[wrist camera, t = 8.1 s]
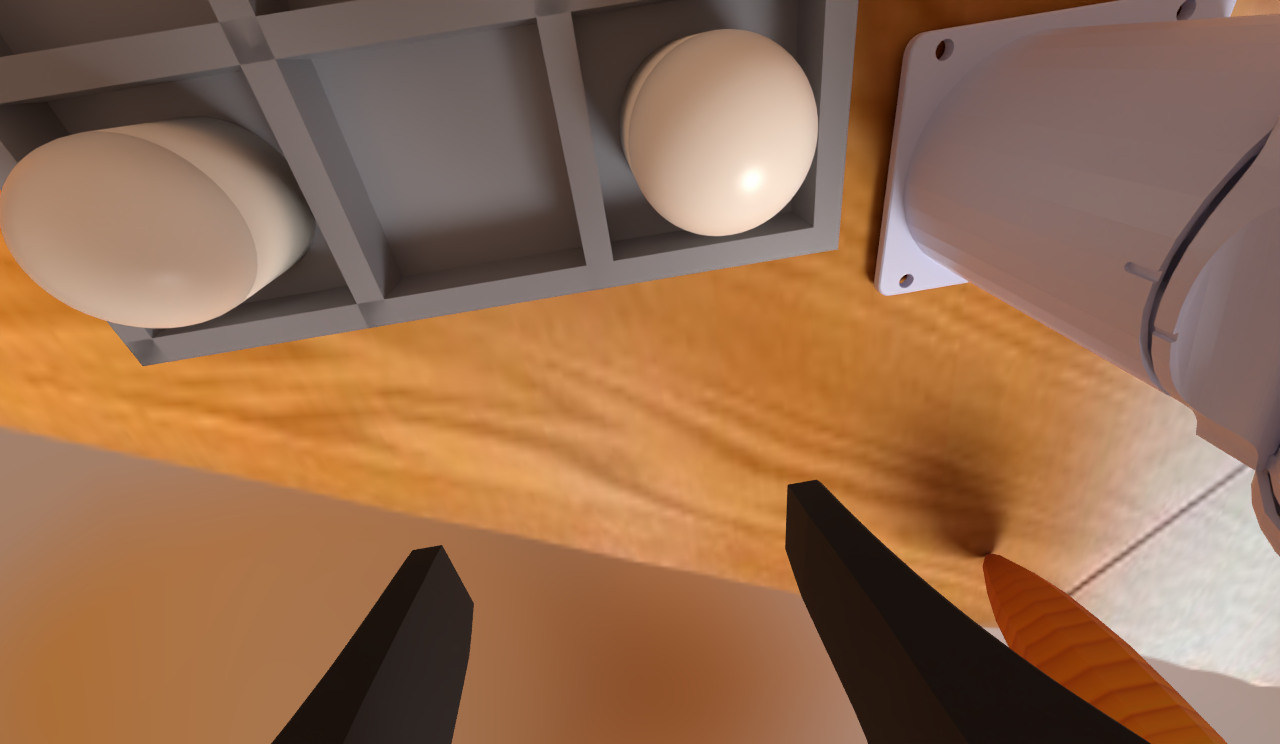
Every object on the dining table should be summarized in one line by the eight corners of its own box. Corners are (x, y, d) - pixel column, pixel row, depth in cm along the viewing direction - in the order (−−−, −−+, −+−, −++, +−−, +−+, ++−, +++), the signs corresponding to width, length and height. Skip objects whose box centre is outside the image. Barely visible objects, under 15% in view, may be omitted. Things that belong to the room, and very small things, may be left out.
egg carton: (848, -538, 9) (1150, -1212, 4) (809, 228, 17) (902, 296, 12) (-308, -369, 9) (-1377, -884, 4) (191, 332, 17) (31, 444, 12)
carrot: (973, 522, 27) (1328, 940, 14) (1049, 527, 28) (1446, 923, 15) (928, 580, 29) (1194, 979, 17) (999, 583, 30) (1302, 963, 17)
